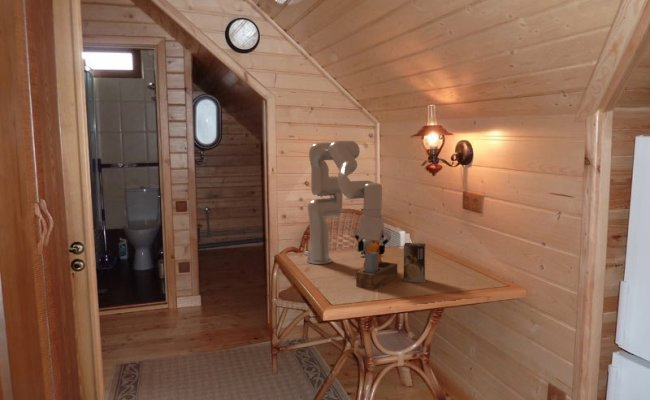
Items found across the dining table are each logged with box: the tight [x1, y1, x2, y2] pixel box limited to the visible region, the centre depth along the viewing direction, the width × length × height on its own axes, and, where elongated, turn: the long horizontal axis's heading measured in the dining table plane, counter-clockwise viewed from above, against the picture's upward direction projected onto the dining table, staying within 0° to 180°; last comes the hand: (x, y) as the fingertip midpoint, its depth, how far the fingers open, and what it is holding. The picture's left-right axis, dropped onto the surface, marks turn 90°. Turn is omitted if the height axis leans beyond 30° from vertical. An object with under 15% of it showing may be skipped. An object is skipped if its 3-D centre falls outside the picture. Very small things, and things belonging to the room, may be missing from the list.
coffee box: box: [403, 242, 426, 284], centre depth 219 cm, size 9×6×16 cm
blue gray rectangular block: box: [364, 252, 378, 274], centre depth 213 cm, size 3×6×12 cm, turn 147°
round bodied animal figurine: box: [355, 239, 374, 255], centre depth 267 cm, size 7×12×8 cm, turn 135°
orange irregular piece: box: [363, 242, 384, 269], centre depth 238 cm, size 11×7×12 cm, turn 135°
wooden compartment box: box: [355, 260, 398, 290], centre depth 218 cm, size 9×22×6 cm, turn 148°
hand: (371, 252), depth 213 cm, fingers open, 9 cm apart
